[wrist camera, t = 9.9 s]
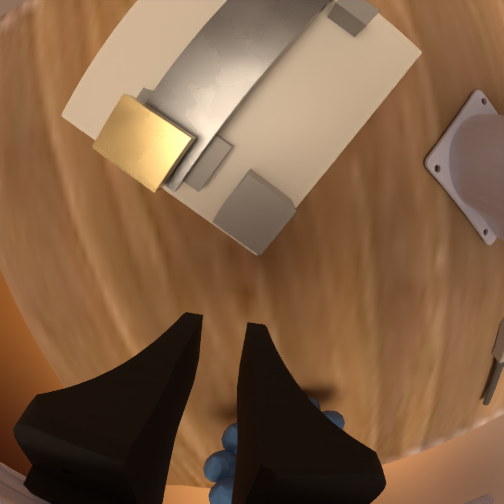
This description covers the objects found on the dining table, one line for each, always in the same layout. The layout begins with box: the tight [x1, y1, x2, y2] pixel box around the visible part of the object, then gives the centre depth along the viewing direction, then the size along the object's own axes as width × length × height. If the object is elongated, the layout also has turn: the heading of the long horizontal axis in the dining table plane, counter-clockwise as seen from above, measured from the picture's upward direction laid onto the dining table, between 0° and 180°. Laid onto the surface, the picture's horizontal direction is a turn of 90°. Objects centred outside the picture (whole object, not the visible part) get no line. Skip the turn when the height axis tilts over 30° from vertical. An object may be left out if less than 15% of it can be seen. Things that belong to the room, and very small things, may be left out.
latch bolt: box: [92, 94, 196, 193], centre depth 14 cm, size 4×3×1 cm
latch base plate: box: [61, 0, 422, 256], centre depth 15 cm, size 16×17×4 cm
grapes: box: [204, 397, 345, 504], centre depth 21 cm, size 12×7×12 cm, turn 108°
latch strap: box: [145, 0, 333, 192], centre depth 14 cm, size 15×4×1 cm, turn 143°
